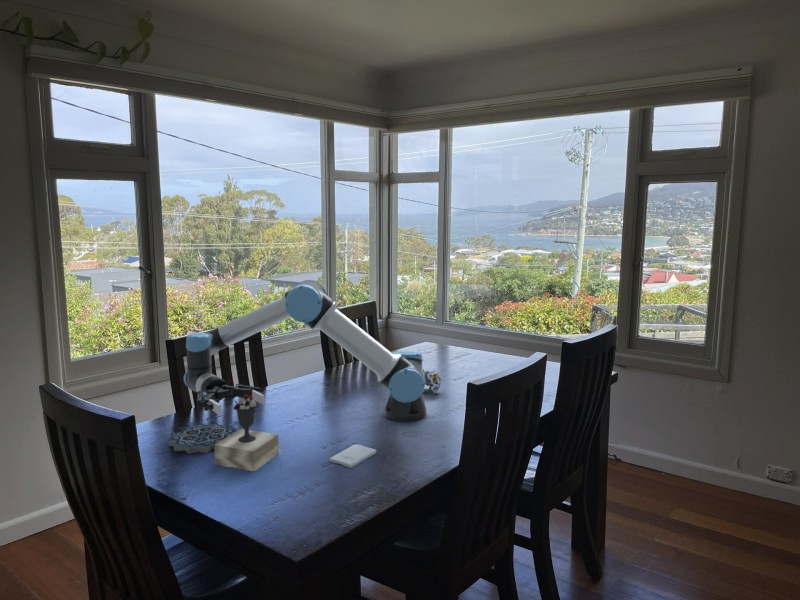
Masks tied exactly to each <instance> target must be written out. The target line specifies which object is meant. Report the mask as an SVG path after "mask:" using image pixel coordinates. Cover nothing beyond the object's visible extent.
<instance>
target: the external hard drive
mask: <svg viewBox="0 0 800 600" xmlns="http://www.w3.org/2000/svg"><path fill="white" fill-rule="evenodd" d="M376 453H377V449H374V448H372V447H367V446H364V445H361V444H358V443H355V444H353V445H351V446H350V447H348V448H346V449H343V450H342V451H340V452H338V453H337V454H334V455H333V456H331V457H329V458H328V462H331V463H335V464H338V465H342V466H344V467H347V468H350V469H351V468H354V467H355V466H356V465H358V464H360V463H362V462H364V461H366V460H367V459H368V458H370V457H372V456H374V455H375V454H376Z"/></svg>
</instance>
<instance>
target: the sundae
mask: <svg viewBox="0 0 800 600" xmlns="http://www.w3.org/2000/svg"><path fill="white" fill-rule="evenodd" d="M252 390H253V389H251V391H252ZM249 392H250V391H249ZM249 392H248V393H249ZM250 395H251V393H250ZM234 402H235V405H234V406H233V410H235V411H236V413H237V418H238V419H237V420H238V423H239V424H238V425H239V426H240V427H242V429H245V434H244V436H242V437H240V438H239V439H238V440H239V441H240V442H252V441H254V440H255V439H256V437H254V436H250V434H249V430H250V428H251V427H252V426H253V425H254V421H255V415H256V409H257V407H258V404H257V403H256V401H255V400H253V397H252V396H249V397H248V394H245V395H244V397H240V399H239V400H238V402H237V400H234Z"/></svg>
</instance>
